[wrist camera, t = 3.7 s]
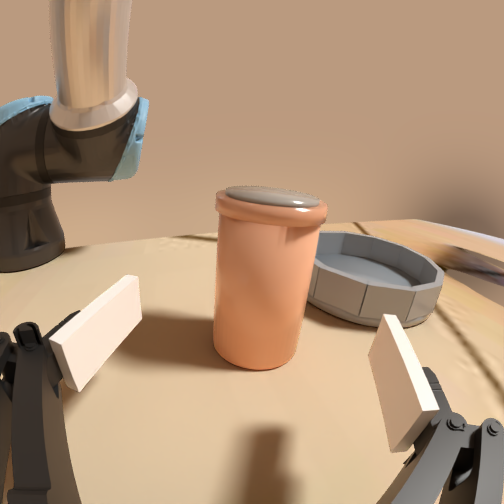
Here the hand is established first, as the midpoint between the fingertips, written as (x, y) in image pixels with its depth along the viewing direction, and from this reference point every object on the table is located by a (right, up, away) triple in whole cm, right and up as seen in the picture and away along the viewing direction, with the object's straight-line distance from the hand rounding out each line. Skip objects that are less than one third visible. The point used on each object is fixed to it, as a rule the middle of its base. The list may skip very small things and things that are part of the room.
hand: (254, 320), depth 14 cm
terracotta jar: (0, -4, +9) cm, 10 cm away
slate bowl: (+15, -1, +21) cm, 26 cm away
